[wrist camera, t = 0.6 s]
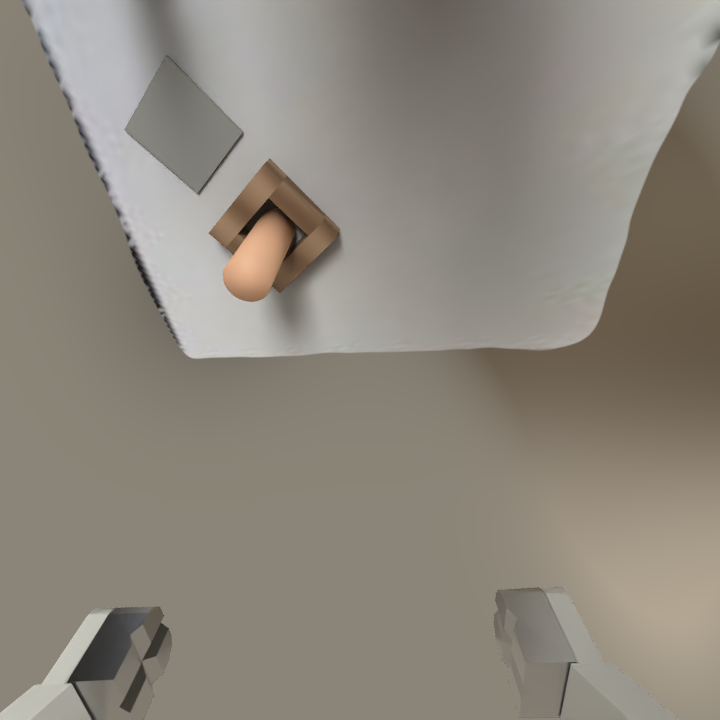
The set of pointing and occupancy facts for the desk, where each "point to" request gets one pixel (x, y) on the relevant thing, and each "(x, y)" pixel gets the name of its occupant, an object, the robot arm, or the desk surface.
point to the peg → (260, 256)
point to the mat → (182, 126)
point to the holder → (293, 204)
